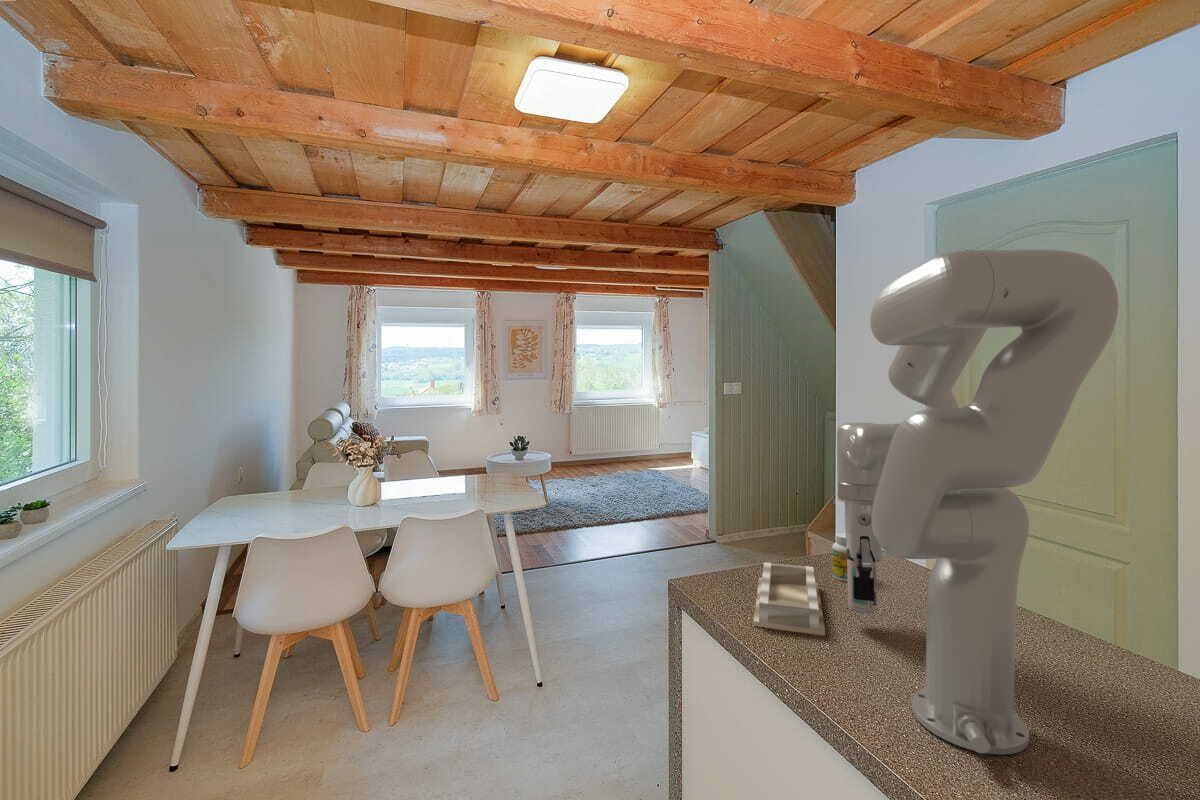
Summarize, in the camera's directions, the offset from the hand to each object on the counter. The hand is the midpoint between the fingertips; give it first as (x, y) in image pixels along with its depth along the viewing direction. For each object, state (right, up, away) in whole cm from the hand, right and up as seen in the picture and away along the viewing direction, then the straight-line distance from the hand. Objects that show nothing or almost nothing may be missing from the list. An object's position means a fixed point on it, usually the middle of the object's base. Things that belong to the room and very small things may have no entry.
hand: (861, 593), depth 98 cm
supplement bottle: (+8, -5, +24) cm, 26 cm away
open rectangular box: (-10, -6, +10) cm, 15 cm away
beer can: (0, -3, 0) cm, 3 cm away
